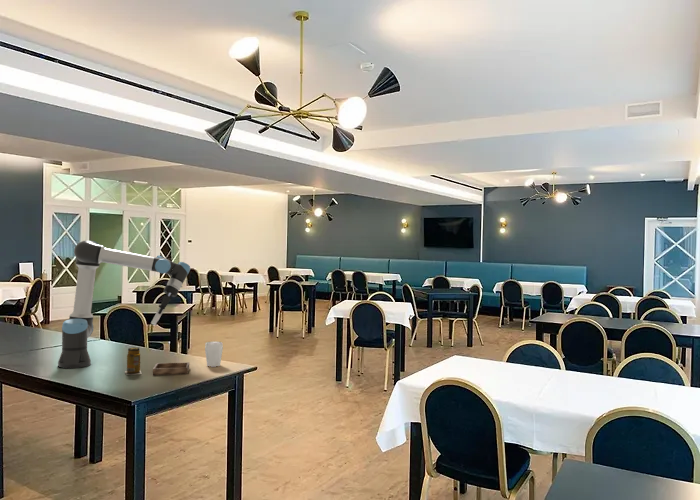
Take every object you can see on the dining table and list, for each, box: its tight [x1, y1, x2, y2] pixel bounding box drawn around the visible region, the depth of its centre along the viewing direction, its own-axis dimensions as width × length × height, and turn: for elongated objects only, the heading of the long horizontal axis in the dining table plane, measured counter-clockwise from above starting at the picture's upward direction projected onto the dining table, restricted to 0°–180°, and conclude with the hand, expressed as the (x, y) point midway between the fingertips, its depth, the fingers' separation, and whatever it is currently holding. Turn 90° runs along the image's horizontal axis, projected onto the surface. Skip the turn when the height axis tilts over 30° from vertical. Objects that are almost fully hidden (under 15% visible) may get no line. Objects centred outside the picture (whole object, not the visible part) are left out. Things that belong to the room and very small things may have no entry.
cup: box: [204, 340, 224, 368], centre depth 289 cm, size 9×9×12 cm
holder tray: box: [152, 362, 190, 376], centre depth 274 cm, size 16×13×3 cm
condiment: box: [124, 347, 143, 376], centre depth 270 cm, size 7×8×12 cm
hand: (154, 322), depth 297 cm, fingers open, 13 cm apart
